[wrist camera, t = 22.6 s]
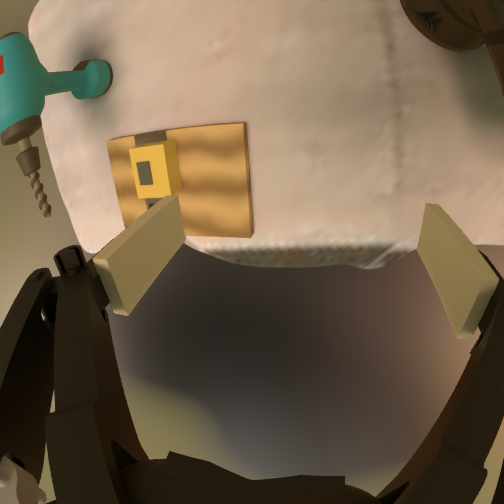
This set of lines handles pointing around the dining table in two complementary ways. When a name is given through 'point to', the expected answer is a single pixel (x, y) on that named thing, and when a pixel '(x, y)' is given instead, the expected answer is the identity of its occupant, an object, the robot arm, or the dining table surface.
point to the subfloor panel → (195, 178)
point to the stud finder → (156, 169)
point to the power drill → (38, 98)
